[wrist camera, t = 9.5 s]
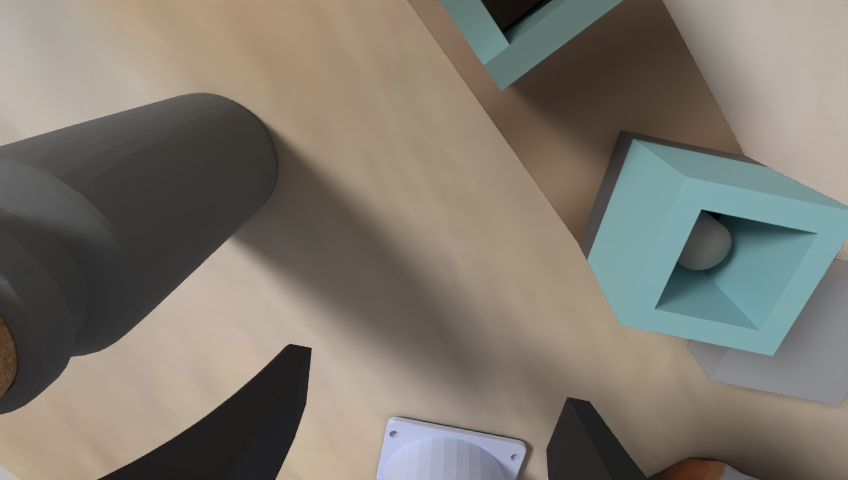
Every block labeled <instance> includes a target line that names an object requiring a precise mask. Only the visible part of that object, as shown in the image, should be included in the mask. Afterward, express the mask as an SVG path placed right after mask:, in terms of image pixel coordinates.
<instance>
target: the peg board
mask: <svg viewBox="0 0 848 480" xmlns="http://www.w3.org/2000/svg"><path fill="white" fill-rule="evenodd" d="M408 2H409V3H410V4H411V6H412V7H413V9H414V10H415V12H416V13H417V14H418V16H419V17H420V19H421V20H422V22H423V23H424V24H425V26H426V27H427V29H428V30H429V31H430V33H431V34H432V36H433V37H434V39H435V40H436V41H437V43H438V44H439V46H440V47H441V49H442V50H443V51H444V53H445V54H446V56H447V57H448V59H449V60H450V61H451V63H452V64H453V66H454V67H455V68H456V70H457V71H458V73H459V74H460V76H461V77H462V78H463V80H464V81H465V83H466V84H467V86H468V87H469V88H470V90H471V91H472V93H473V94H474V96H475V97H476V98H477V100H478V101H479V103H480V104H481V105H482V107H483V108H484V110H485V111H486V113H487V114H488V115H489V117H490V118H491V120H492V121H493V123H494V124H495V125H496V127H497V128H498V130H499V131H500V133H501V134H502V135H503V137H504V138H505V140H506V141H507V143H508V144H509V145H510V147H511V148H512V150H513V151H514V152H515V154H516V155H517V157H518V158H519V160H520V161H521V162H522V164H523V165H524V167H525V168H526V170H527V171H528V172H529V174H530V175H531V177H532V178H533V180H534V181H535V182H536V184H537V185H538V187H539V188H540V189H541V191H542V192H543V194H544V195H545V197H546V198H547V199H548V201H549V202H550V204H551V205H552V207H553V208H554V209H555V211H556V212H557V214H558V215H559V217H560V218H561V219H562V221H563V222H564V224H565V225H566V226H567V228H568V229H569V231H570V232H571V234H572V235H573V236H574V238H575V239H576V241H577V242H578V244H579V243H580V240H581V237H582V235H583V232H584V229H585V226H586V224H587V221H588V218H589V216H590V213H591V210H592V207H593V205H594V202H595V199H596V196H597V194H598V191H599V188H600V185H601V183H602V180H603V177H604V175H605V172H606V169H607V166H608V164H609V161H610V158H611V155H612V153H613V150H614V147H615V144H616V142H617V139H618V136H619V133H620V131H621V130H623V131H628V132H632V133H637V134H642V135H647V136H651V137H656V138H661V139H666V140H671V141H675V142H680V143H685V144H690V145H694V146H699V147H704V148H709V149H714V150H718V151H723V152H728V153H733V154H738V155H742V156H744V154H743V152H742V150H741V148H740V146H739V144H738V143H737V141H736V139H735V137H734V135H733V133H732V131H731V129H730V127H729V126H728V124H727V122H726V120H725V118H724V116H723V114H722V112H721V110H720V108H719V107H718V105H717V103H716V101H715V99H714V97H713V95H712V93H711V91H710V90H709V88H708V86H707V84H706V82H705V80H704V78H703V76H702V74H701V73H700V71H699V69H698V67H697V65H696V63H695V61H694V59H693V57H692V56H691V54H690V52H689V50H688V48H687V46H686V44H685V42H684V40H683V39H682V37H681V35H680V33H679V31H678V29H677V27H676V25H675V23H674V21H673V20H672V18H671V16H670V14H669V12H668V10H667V8H666V6H665V4H664V3H663V1H662V0H408ZM730 248H731V235H730V233H729V231H728V230H727V229H726V227H724V226H723V225H722V224H721V223H719V222H718V221H717V220H716V219H714V218H713V217H712V216H711V215H709V214H708V213H707V212H706V211H704V210H703V209H701V211H700V213H699V216H698V218H697V220H696V222H695V224H694V226H693V228H692V230H691V233H690V235H689V237H688V239H687V241H686V243H685V245H684V247H683V250H682V252H681V254H680V256H679V258H678V260H677V261H678V262H679V263H680V264H681V265H682V266H683V267H685V268H688V269H691V270H704V269H708V268H711V267H713V266H715V265H717V264H718V263H719V262H721V261H722V260H723V259H724V258H725V257H726V255H727V254H728V252H729V250H730Z"/></svg>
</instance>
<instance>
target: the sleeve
mask: <svg viewBox="0 0 848 480" xmlns="http://www.w3.org/2000/svg"><path fill="white" fill-rule="evenodd" d="M701 209H703V210H704V211H706V212H707V213H708V214H709V215H711V216H712V217H713V218H714V219H716V220H717V221H718V222H719V223H721V224H722V225H723V226H724V227H726V229H727V230H728V231H729V233H730V235H731V248H730V250H729V252H728V254H727V255H726V257H725V258H724V259H723V260H722V261H721V262H719V263H718V264H717V265H715V266H713V267H711V268H708V269H704V270H691V269H688V268H685V267H683V266H682V265H681V264H680V263H679V262H678V261H677V260H678V258H679V256H680V254H681V252H682V250H683V247H684V245H685V243H686V241H687V239H688V237H689V235H690V233H691V230H692V228H693V226H694V224H695V222H696V220H697V218H698V216H699V213H700V211H701ZM847 237H848V206H846V205H844V204H842V203H840V202H838V201H836V200H834V199H832V198H830V197H828V196H826V195H824V194H822V193H820V192H818V191H816V190H814V189H812V188H810V187H808V186H806V185H804V184H801V183H799V182H797V181H795V180H793V179H791V178H789V177H787V176H785V175H783V174H781V173H779V172H777V171H775V170H773V169H771V168H769V167H767V166H765V165H763V164H761V163H759V162H757V161H755V160H753V159H751V158H749V157H747V156H742V155H738V154H733V153H728V152H723V151H718V150H714V149H709V148H704V147H699V146H694V145H690V144H685V143H680V142H675V141H671V140H666V139H661V138H656V137H651V136H647V135H642V134H637V133H632V132H628V131H623V130H621V131H620V133H619V136H618V139H617V142H616V144H615V147H614V150H613V153H612V155H611V158H610V161H609V164H608V166H607V169H606V172H605V175H604V177H603V180H602V183H601V185H600V188H599V191H598V194H597V196H596V199H595V202H594V205H593V207H592V210H591V213H590V216H589V218H588V221H587V224H586V226H585V229H584V232H583V235H582V237H581V240H580V243H579V246H580V248H581V250H582V252H583V253H584V255H585V257H586V259H587V261H588V263H589V265H590V267H591V269H592V271H593V273H594V275H595V277H596V279H597V281H598V283H599V285H600V287H601V289H602V291H603V293H604V295H605V297H606V298H607V300H608V302H609V304H610V306H611V308H612V310H613V312H614V314H615V316H616V318H617V320H618V322H619V324H620V325H622V326H627V327H632V328H637V329H642V330H647V331H652V332H657V333H662V334H667V335H672V336H676V337H681V338H686V339H691V340H696V341H701V342H706V343H711V344H716V345H721V346H726V347H731V348H736V349H741V350H745V351H750V352H755V353H760V354H765V355H770V356H773V355H774V353H775V352H776V350H777V348H778V347H779V345H780V344H781V342H782V341H783V339H784V337H785V336H786V334H787V333H788V331H789V329H790V328H791V326H792V325H793V323H794V321H795V320H796V318H797V317H798V315H799V313H800V312H801V310H802V309H803V307H804V305H805V304H806V302H807V301H808V299H809V297H810V296H811V294H812V293H813V291H814V289H815V288H816V286H817V285H818V283H819V281H820V280H821V278H822V277H823V275H824V273H825V272H826V270H827V269H828V267H829V265H830V264H831V262H832V261H833V259H834V257H835V256H836V254H837V253H838V251H839V249H840V248H841V246H842V245H843V243H844V242H845V240H846V238H847Z"/></svg>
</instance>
